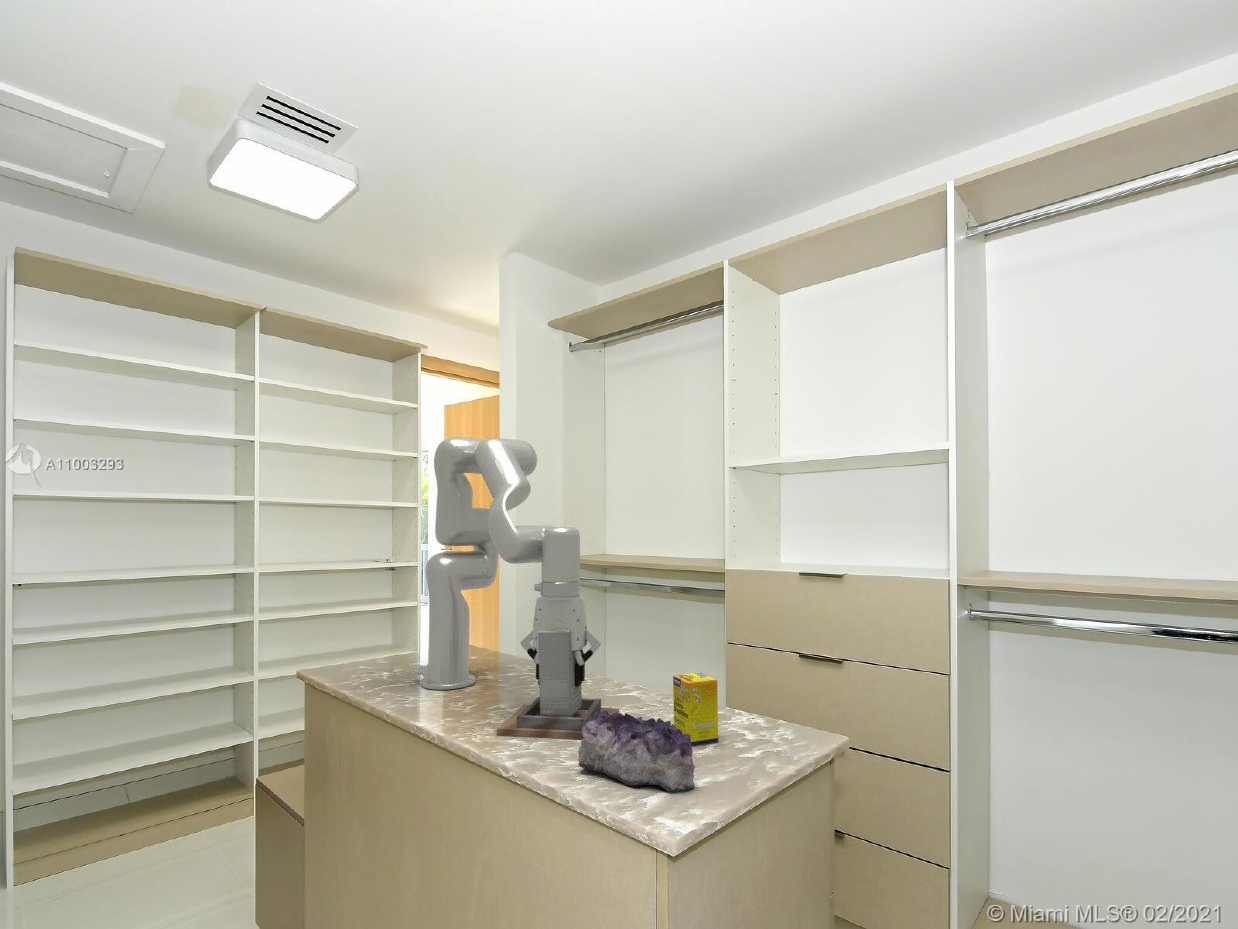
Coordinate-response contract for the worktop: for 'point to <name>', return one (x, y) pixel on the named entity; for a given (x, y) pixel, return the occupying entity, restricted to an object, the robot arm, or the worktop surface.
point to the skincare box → (557, 674)
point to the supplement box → (696, 707)
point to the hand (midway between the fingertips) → (560, 683)
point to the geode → (638, 751)
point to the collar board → (550, 721)
